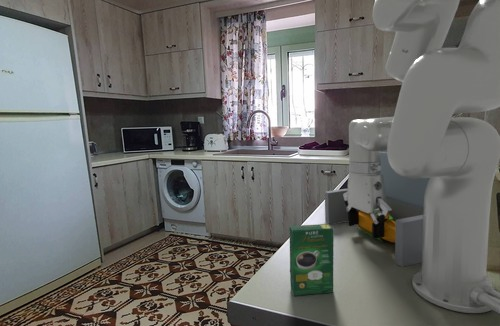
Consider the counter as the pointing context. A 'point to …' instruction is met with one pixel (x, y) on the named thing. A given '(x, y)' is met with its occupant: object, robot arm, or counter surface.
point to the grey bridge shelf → (403, 215)
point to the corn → (367, 221)
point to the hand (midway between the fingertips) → (365, 231)
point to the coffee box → (311, 259)
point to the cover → (402, 184)
